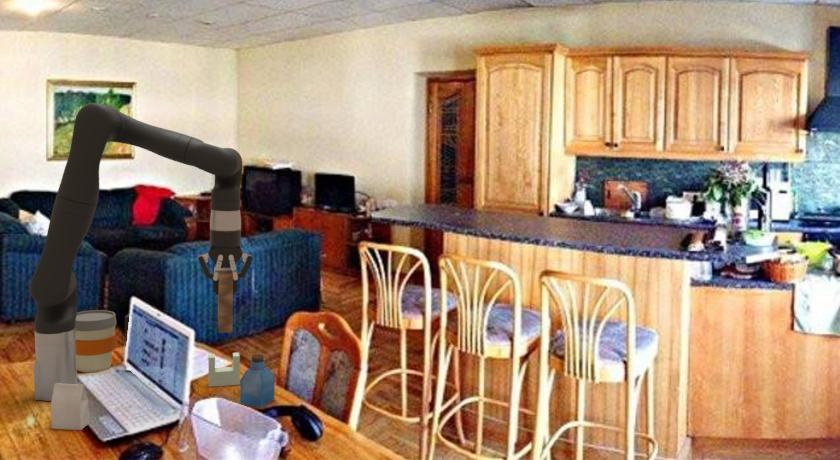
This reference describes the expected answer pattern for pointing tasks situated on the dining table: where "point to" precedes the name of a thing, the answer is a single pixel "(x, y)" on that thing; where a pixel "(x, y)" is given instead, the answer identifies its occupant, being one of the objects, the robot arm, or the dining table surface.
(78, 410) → the grey box
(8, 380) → the dining table surface
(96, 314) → the reusable coffee cup
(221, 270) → the walnut plate
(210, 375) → the slotted stand
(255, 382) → the perfume bottle
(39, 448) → the dining table surface
